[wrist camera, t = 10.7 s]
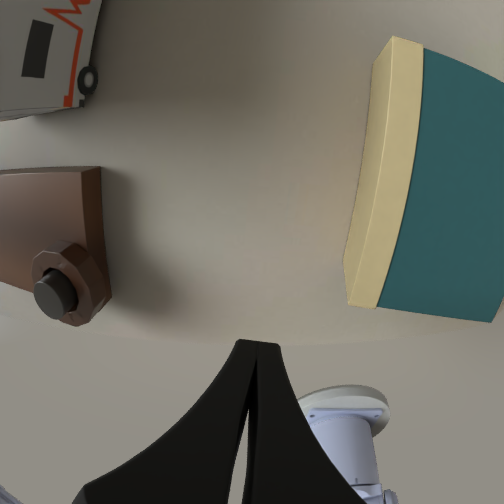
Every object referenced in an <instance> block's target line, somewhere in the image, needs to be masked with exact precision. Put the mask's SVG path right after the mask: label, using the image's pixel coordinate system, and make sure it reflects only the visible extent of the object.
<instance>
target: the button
mask: <svg viewBox="0 0 504 504" xmlns="http://www.w3.org/2000/svg"><path fill="white" fill-rule="evenodd" d="M33 293H34V297H35V300H36V302H37V304H38V306H39V307H40V309H41V310H42V311H43V312H44V313H45V314H46V315H47V316H49V317H50V318H52V319H56V320H57V319H61V318H62V317H63V316H64V315H65V314H66V313H67V312H68V311H69V310H70V309H71V308H72V307H73V306H74V305H75V304H76V302H77V291H76V289H75V287H74V286H73V284H72V282H71V281H70V279H69V278H68V277H67V276H66V275H65V274H64V273H62V272H61V271H59V270H52V271H51V272H49V273H48V274H47V275H46V276H44V277H43V278H42V279H40V280H39V281H38V282H37V283H36V284H35V285H34V288H33Z"/></svg>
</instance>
